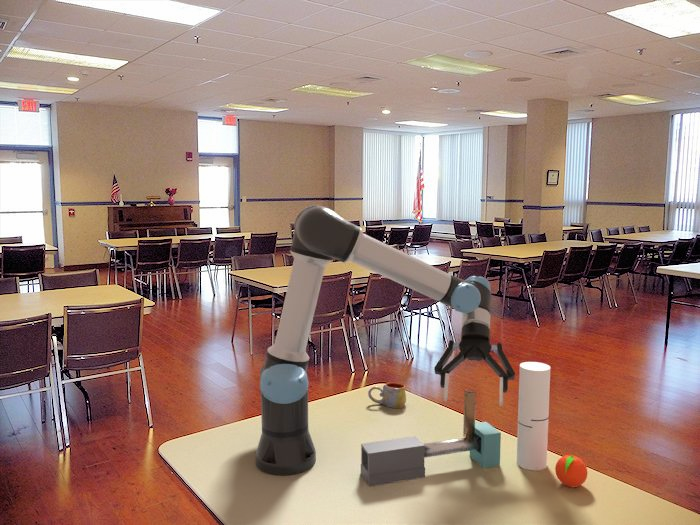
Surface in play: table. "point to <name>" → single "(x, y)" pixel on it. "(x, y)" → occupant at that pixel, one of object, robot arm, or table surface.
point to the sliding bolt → (469, 437)
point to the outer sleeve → (392, 460)
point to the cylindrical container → (533, 415)
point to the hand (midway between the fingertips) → (472, 401)
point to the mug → (391, 395)
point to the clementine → (571, 471)
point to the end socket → (487, 445)
